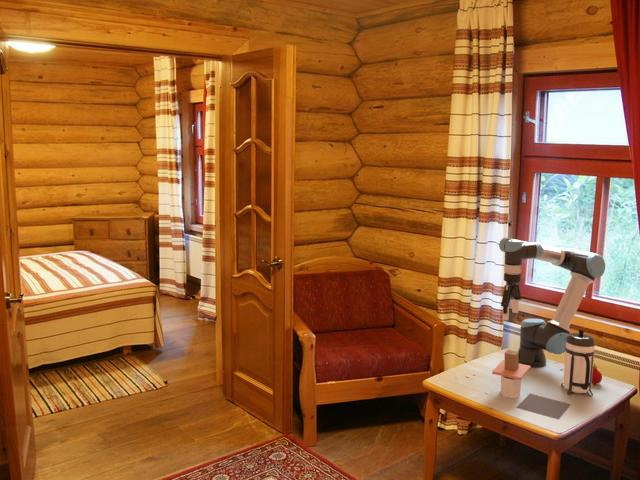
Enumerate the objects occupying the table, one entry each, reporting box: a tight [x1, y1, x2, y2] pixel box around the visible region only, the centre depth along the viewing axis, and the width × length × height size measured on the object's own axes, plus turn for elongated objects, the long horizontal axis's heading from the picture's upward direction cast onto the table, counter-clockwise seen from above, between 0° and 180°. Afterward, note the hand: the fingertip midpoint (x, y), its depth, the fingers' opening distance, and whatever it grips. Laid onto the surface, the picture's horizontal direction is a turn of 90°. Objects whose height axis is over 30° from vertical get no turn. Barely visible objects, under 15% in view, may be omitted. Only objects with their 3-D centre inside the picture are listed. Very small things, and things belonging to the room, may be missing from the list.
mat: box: [516, 393, 572, 420], centre depth 260 cm, size 18×18×1 cm
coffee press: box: [560, 328, 597, 397], centre depth 273 cm, size 17×16×30 cm
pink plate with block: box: [491, 349, 532, 381], centre depth 269 cm, size 13×13×9 cm
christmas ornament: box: [591, 363, 603, 385], centre depth 284 cm, size 7×7×10 cm
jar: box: [500, 376, 522, 399], centre depth 271 cm, size 9×8×12 cm
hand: (510, 316), depth 283 cm, fingers open, 13 cm apart
